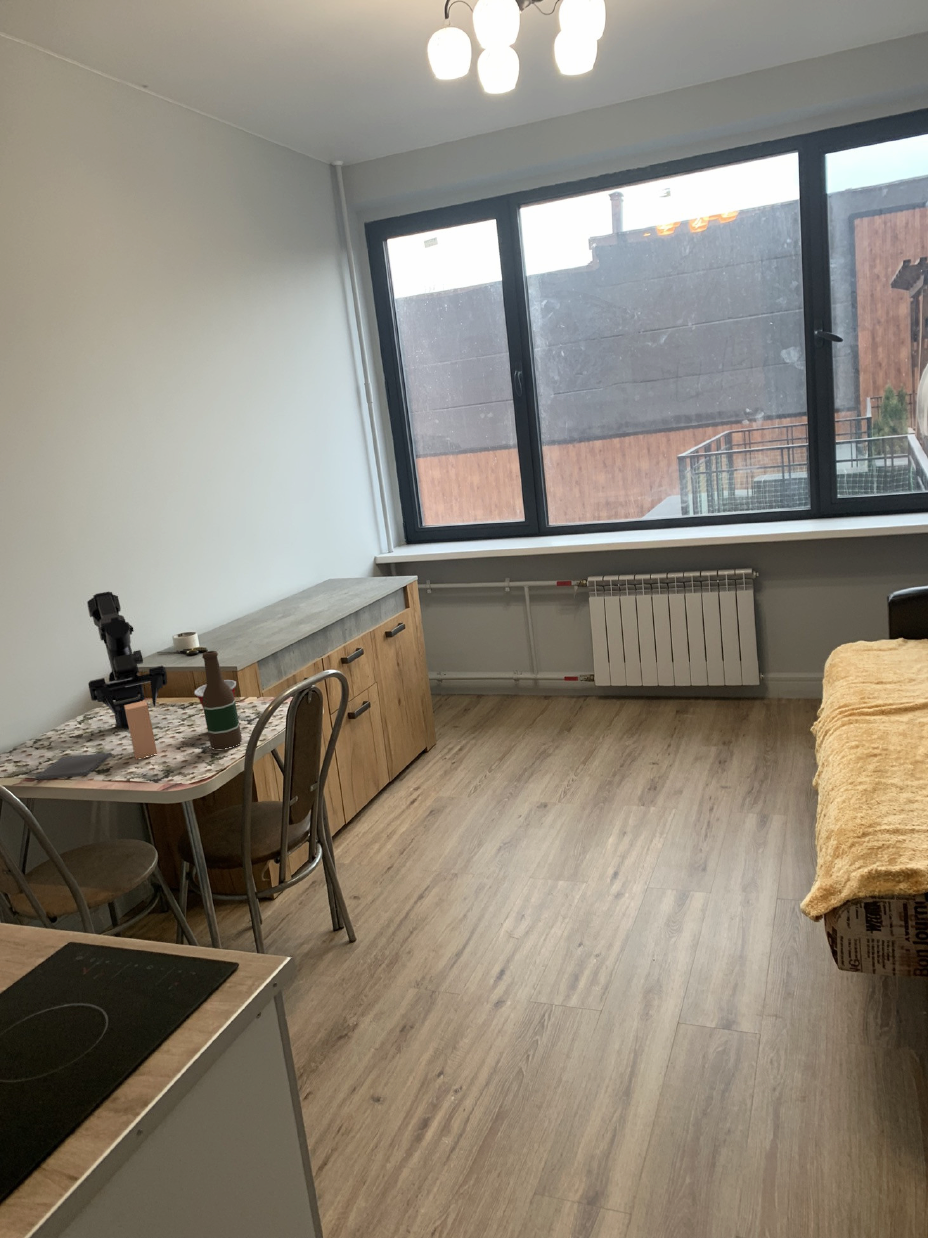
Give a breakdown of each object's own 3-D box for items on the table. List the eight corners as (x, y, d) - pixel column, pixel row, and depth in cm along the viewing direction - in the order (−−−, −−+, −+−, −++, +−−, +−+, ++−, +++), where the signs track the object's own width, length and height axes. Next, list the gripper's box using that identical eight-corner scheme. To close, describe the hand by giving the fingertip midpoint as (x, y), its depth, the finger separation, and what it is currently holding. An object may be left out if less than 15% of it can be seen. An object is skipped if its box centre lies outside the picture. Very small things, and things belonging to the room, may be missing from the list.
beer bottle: (248, 739, 233) (231, 647, 228) (231, 751, 226) (213, 655, 221) (222, 739, 236) (205, 648, 231) (204, 751, 229) (186, 657, 224)
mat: (62, 760, 236) (62, 757, 236) (111, 755, 235) (110, 752, 235) (35, 779, 223) (35, 776, 223) (87, 774, 222) (86, 771, 222)
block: (134, 754, 233) (124, 705, 230) (154, 749, 235) (144, 700, 232) (136, 760, 229) (126, 709, 226) (157, 754, 231) (147, 704, 228)
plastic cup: (193, 736, 242) (185, 692, 239) (218, 722, 252) (210, 680, 249) (228, 737, 238) (219, 692, 235) (252, 722, 247) (244, 679, 245)
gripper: (80, 650, 231) (93, 701, 223) (158, 634, 238) (172, 684, 231) (85, 675, 240) (97, 725, 232) (159, 659, 247) (174, 707, 239)
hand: (135, 710), depth 233 cm, fingers open, 9 cm apart
